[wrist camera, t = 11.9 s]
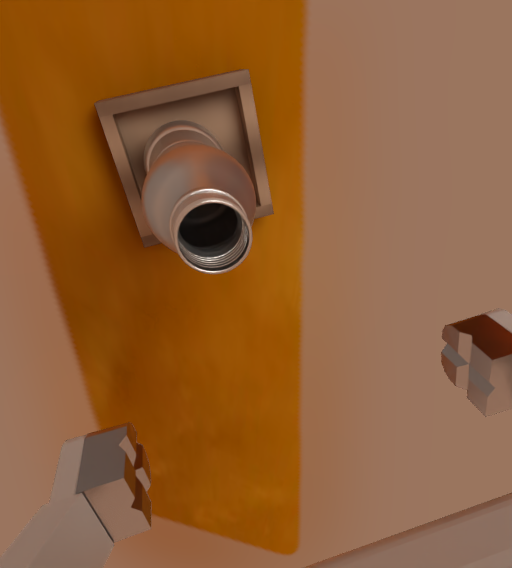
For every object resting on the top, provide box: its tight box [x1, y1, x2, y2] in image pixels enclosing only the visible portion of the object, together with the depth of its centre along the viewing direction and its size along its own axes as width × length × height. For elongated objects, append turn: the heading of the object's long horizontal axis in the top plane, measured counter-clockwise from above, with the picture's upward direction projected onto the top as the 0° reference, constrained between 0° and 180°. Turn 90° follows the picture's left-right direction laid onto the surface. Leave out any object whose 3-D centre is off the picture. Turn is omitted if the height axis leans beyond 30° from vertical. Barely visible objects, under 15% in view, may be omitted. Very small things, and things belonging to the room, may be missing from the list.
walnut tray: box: [94, 69, 274, 248], centre depth 36 cm, size 12×12×3 cm
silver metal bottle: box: [141, 120, 256, 274], centre depth 28 cm, size 6×7×20 cm
